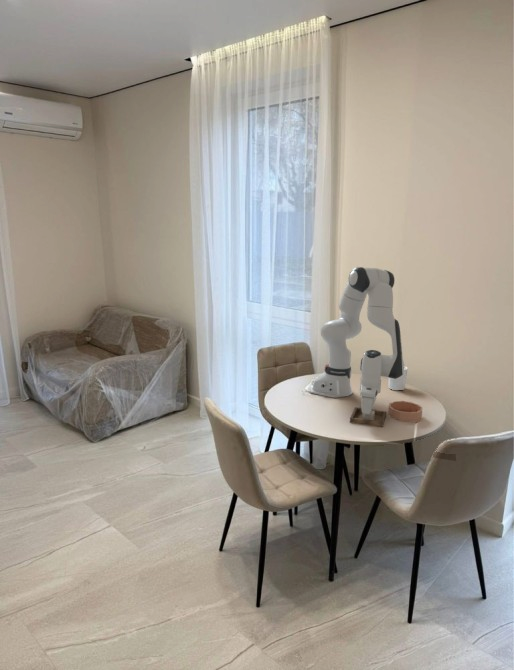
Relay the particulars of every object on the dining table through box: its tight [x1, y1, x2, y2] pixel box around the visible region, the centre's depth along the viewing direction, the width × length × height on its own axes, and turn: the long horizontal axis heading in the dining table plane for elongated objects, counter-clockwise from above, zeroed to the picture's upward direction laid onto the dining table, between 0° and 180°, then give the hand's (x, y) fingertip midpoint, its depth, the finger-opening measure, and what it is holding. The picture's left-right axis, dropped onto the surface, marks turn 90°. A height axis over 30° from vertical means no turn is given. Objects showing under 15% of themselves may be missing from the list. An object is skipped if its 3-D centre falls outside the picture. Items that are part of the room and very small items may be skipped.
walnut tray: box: [349, 407, 387, 428], centre depth 218 cm, size 14×14×3 cm
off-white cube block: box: [362, 409, 375, 421], centre depth 218 cm, size 5×4×4 cm
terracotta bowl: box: [387, 400, 423, 424], centre depth 223 cm, size 15×15×5 cm
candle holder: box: [388, 365, 408, 391], centre depth 261 cm, size 10×10×12 cm
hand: (368, 416), depth 218 cm, fingers closed on off-white cube block, 4 cm apart
